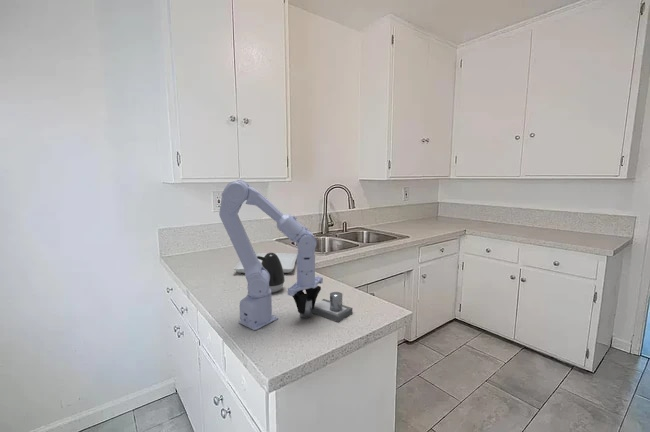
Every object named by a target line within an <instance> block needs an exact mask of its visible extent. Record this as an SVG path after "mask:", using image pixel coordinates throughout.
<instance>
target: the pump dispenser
mask: <svg viewBox="0 0 650 432" xmlns="http://www.w3.org/2000/svg"><path fill="white" fill-rule="evenodd" d="M267 253H268V254H266V255H265V257H261V256H257V258H258V259H260V260H262V263H261V264H262V266H263V267H264V269H266V270H267V271H268V272H269V274H270V281H269V288H270V289H271V294H272V293H273V294H274V293H277V292H278V291H280V290H281V289H283V286H284V282H285V279H286V278H285V273H284V272H283V267H282V264H281V262H280V260H279V258H278V256H277V255H276V254H275V253H276V252H275V253H274V252H267Z"/></svg>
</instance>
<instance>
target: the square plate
mask: <svg viewBox="0 0 650 432" xmlns="http://www.w3.org/2000/svg"><path fill="white" fill-rule="evenodd" d="M268 253H269V252H264V253H262V252H261V253H259V252H258V253H256V252H255V254H256V256H261V257H265V255H266V254H268ZM275 254H276V255H277V256H278V258H279V260H280V262H281V264H282V267H283V272H284V274H286V273H288V274H289V273H291V272H293V270H294V269H295V267H296V262H297V254H298V253H284V252H283V253H280V252H279V253H277V252H275ZM258 260H259V261H260V262H261V263H262V260H260V259H258ZM233 270H234V271H236V272H237V273H241V274H245V271H244V268H243V265H242V263H241V261H240V260H239V262H237V264H236V265H235V266H234V267H233Z"/></svg>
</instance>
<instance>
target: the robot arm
mask: <svg viewBox="0 0 650 432" xmlns="http://www.w3.org/2000/svg"><path fill="white" fill-rule="evenodd" d="M244 203H245V204H246V205H248V206H249V205H250V206H255V207H258V208H259V210H261V211H262V212H264V213H265V214H266V215H267V216H268V217H269V218H271V219H272V220H273V221H274V222H276V229H277V230H278V231H280V232H281V233H282V234H283V235H284V236H286V237H287V238H288V239H289V240H290V241H291V242H293V243H296V247H297V253H296V254H297V259H296V282H295V283H294V284H292V285H291V286H290V287H288V288H287V295H288V296H290V297H292V298H293V300H294V303H295V305H296V308H297V312H298V313H299V314H300V313H301V314H304V313H305V303H306V299H307V297H309V298H311V299H312V309H314V306H315V303H317V298H318V295H319V293H320V292H321V290H322V287H321V286H319V285H318V284H324V283H323V282H324V281H323V279H324V278H323V277H322V276H319V275H318V276H316V255H315V253H316V247H317V243H318V242H317V239H316V237H315V236H314V234H313V232H312V231H311V230H309V228H308V227H307V226H304V225H303V224H301V222H299V221H298V220H297V216H296V215H291V214H290V213H287V214H284V213H282V212H281V210H279V208H277V207H276V206H275V204H273V203H272V202H271V201H270V200H269V199H267V198H266V196H264V195H263V193H261V192H260V191H258V190H257V189H256V188H255V187H253V186H250V184H249V183H247V181H245V180H241V179H238V180H233V181H230V182H229V183H228V184H227V185H226V186H225V187H224V189H223V191H222V193H221V201H220V208H219V211H218V212H219V218H220V220H221V222H222V225H223V227H224V229H225V231H226V233H227V235H228V237H229V239H230V241H231V244H232V246H233V247H234V250H235V252H236V254H237V257H238V259H239V262H240V261H241V263H242V265H243V268H244V271H245V273H244V277H245V279H246V282H247V288H246V289H247V295H246V296H245V297H243V298H242V299H241V300H239V321H238V323H239V324H241V325H243V326H245V327H247V328H248V329H250V330H253V331H256V330H259V329H261V328H263V327H265V326H267V325H269V324H270V323H273V322H274V321H277V320H278V319H279V317H278V316H276V315H273V307H272V306H273V305H272V302H273V301H272V300H273V299H272V293H271V289H270V288H269V281H270V274H269V272H268V271H267V270H266V269H264V267H263V266H262V264H261V262H260V261H259V260H258V258H257V256H256V252H255V249H254V247H253V245H252V243H251V241H250V239H249V236H248V234H247V231H246V230H245V227H244V226H243V225H244V224H243V223H242V221H241V219H240V217H239V212H240V210H241V208H242V205H243V204H244ZM304 290H305V291H304Z"/></svg>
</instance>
